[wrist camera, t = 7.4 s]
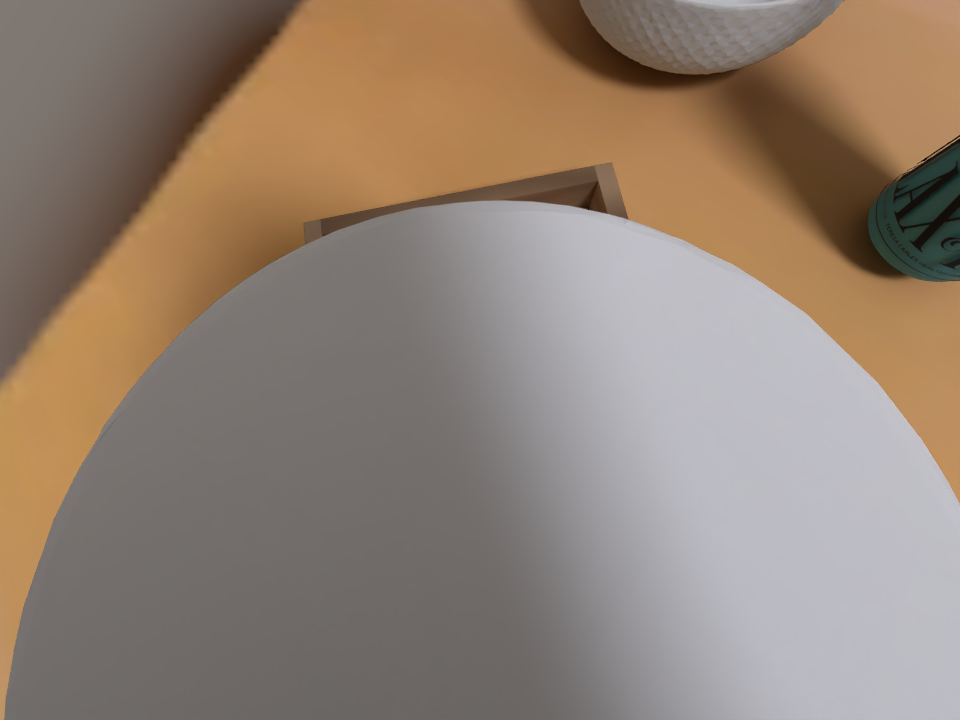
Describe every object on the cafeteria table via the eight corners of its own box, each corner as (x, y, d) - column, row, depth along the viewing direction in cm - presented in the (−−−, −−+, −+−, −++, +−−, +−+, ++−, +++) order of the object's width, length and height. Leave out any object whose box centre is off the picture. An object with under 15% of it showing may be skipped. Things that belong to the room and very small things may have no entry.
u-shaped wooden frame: (638, 324, 22) (654, 310, 20) (335, 380, 23) (315, 372, 20) (601, 190, 24) (611, 162, 22) (323, 244, 25) (303, 222, 22)
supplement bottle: (570, 368, 16) (831, 28, 3) (627, 559, 14) (1789, 1598, 1) (394, 411, 16) (-57, 251, 3) (429, 607, 14) (-278, 2023, 1)
